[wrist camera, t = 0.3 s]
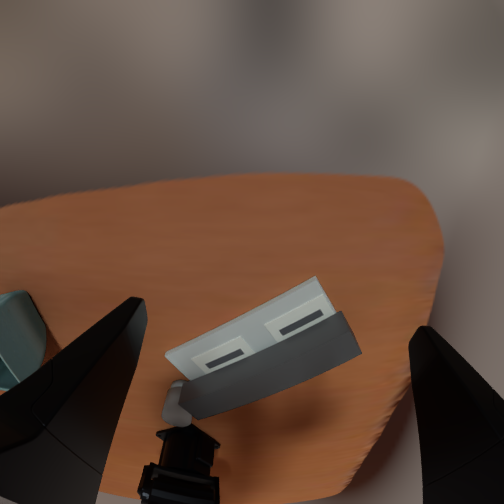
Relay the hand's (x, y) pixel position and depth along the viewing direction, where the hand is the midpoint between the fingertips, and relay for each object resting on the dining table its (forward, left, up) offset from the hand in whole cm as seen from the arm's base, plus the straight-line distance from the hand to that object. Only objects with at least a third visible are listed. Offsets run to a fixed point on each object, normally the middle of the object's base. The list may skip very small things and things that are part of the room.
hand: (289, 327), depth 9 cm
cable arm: (-9, -12, -13) cm, 20 cm away
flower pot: (-29, +5, -14) cm, 32 cm away
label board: (-9, -12, -14) cm, 21 cm away
